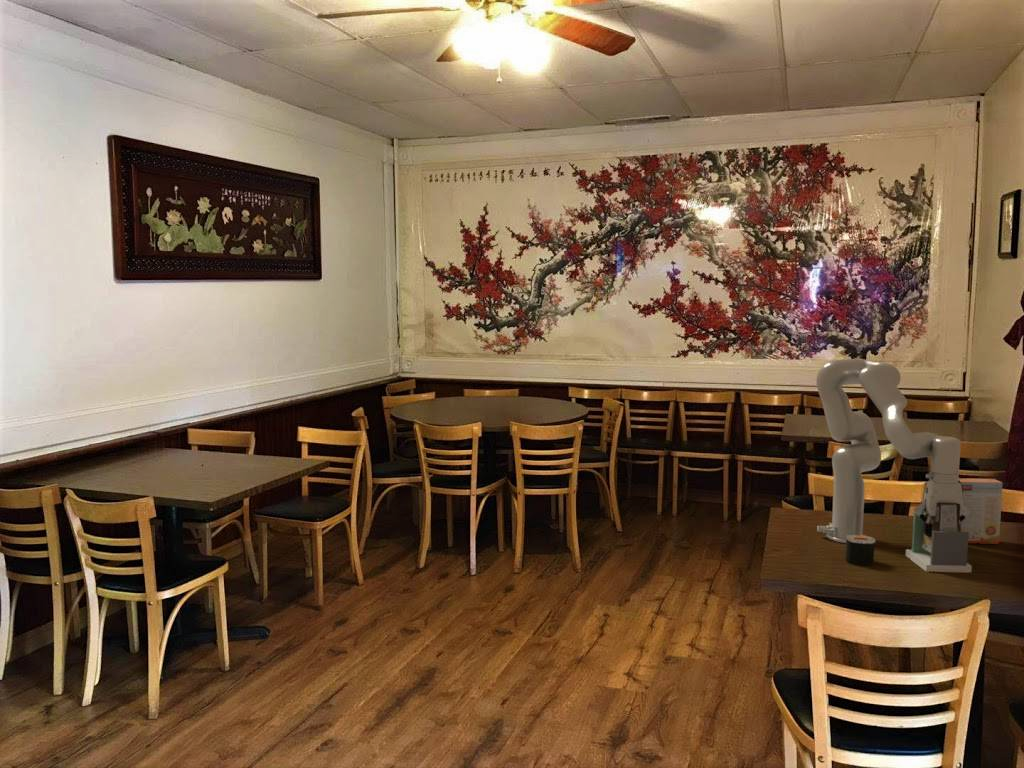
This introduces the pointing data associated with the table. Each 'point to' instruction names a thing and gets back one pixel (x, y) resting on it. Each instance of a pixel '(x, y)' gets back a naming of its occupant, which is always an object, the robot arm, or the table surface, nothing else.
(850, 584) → the table surface
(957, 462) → the robot arm
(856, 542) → the sushi
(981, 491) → the cracker box
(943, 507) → the coffee box
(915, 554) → the shelf
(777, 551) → the table surface
